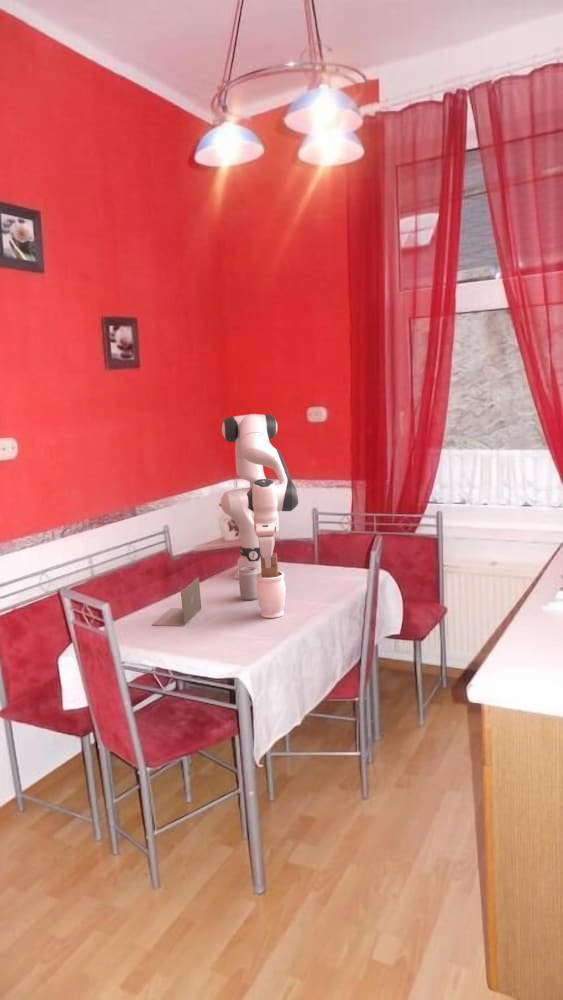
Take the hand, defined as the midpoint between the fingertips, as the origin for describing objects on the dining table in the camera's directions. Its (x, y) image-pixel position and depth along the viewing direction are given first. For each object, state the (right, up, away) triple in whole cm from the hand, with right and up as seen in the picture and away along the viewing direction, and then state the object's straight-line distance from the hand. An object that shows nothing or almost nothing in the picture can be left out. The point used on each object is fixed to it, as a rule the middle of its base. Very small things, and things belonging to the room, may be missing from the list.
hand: (269, 563), depth 254 cm
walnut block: (0, -4, +1) cm, 4 cm away
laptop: (-33, -21, +7) cm, 40 cm away
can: (-8, -16, +24) cm, 30 cm away
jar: (+1, -19, +3) cm, 19 cm away
